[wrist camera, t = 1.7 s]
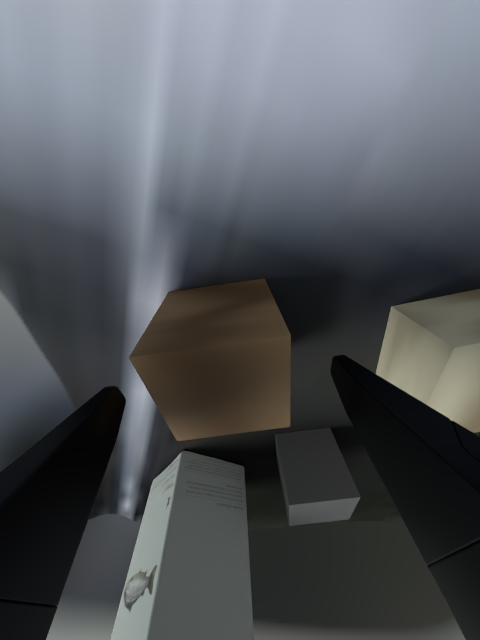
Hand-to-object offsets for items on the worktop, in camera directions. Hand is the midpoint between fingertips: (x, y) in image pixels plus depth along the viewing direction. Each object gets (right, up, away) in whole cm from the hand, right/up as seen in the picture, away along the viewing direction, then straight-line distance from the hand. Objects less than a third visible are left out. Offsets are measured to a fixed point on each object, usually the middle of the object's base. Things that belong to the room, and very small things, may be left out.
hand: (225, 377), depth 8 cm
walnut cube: (0, +2, +3) cm, 4 cm away
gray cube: (+7, -10, +11) cm, 16 cm away
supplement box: (-4, -14, +13) cm, 19 cm away
